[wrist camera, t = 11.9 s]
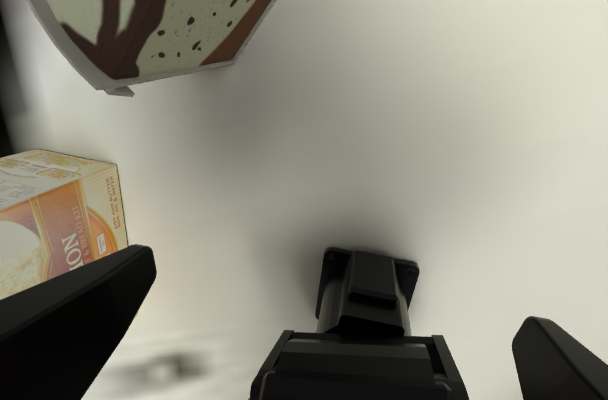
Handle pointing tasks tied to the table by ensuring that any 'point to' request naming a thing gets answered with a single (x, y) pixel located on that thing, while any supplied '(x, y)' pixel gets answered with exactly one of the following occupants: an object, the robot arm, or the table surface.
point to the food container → (148, 36)
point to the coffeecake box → (55, 216)
